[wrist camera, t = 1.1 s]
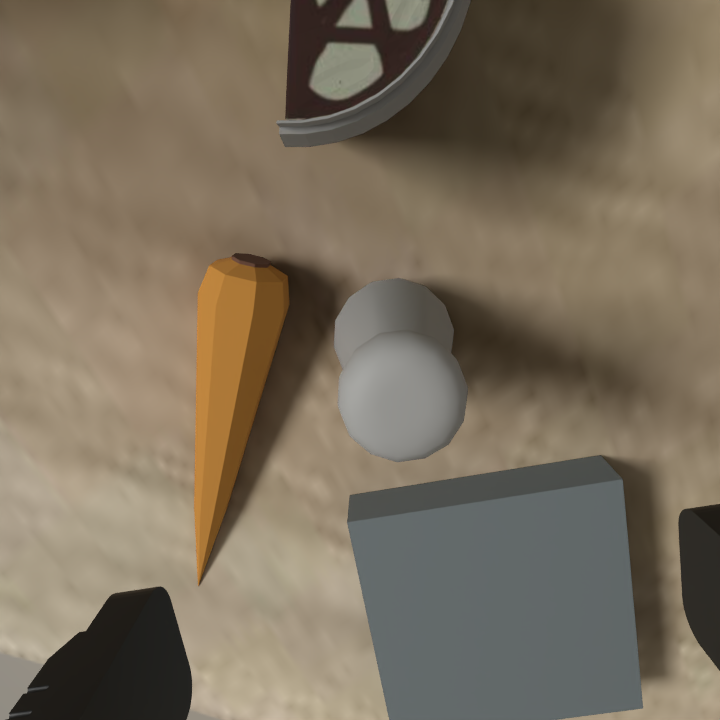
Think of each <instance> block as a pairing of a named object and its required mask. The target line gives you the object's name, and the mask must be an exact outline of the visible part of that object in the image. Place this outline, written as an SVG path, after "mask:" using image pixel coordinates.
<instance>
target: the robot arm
mask: <svg viewBox="0 0 720 720" xmlns="http://www.w3.org/2000/svg"><path fill="white" fill-rule="evenodd" d="M679 545H680V563H681V581H682V598H683V605H684V610H685V614H686V617H687V620H688V623H689V625H690V628H691V630H692V632H693V634H694V636H695V638H696V640H697V641H698V643H699V644H700V646H701V647H702V648H703V650H704V651H705V652H706V654H707V655H708V656H709V657H710V659H711V660H712V661H713V663H714V664H715V665H716V666H717V668H718V669H719V670H720V504H716V505H710V506H703V507H696V508H690V509H684V510H683V511H682V512H681V513H680V516H679ZM191 697H192V677H191V670H190V666H189V662H188V659H187V655H186V652H185V648H184V645H183V641H182V638H181V634H180V631H179V627H178V624H177V620H176V617H175V613H174V610H173V606H172V603H171V599H170V596H169V594H168V592H167V591H166V590H165V589H164V588H163V587H154V588H147V589H140V590H134V591H127V592H120V593H115V594H112V595H111V596H110V597H109V598H108V599H107V601H106V602H105V604H104V605H103V607H102V608H101V610H100V611H99V613H98V614H97V616H96V617H95V619H94V620H93V622H92V623H91V624H90V626H89V627H88V629H87V630H86V631H84V632H79V633H78V634H77V635H75V636H74V637H73V638H72V639H71V640H70V641H68V642H67V643H66V644H65V645H64V646H63V647H61V648H60V649H59V650H58V651H57V652H56V653H55V654H53V655H52V656H51V657H50V658H49V659H48V660H47V662H46V663H45V664H44V666H43V667H42V669H41V670H40V671H39V673H38V674H37V675H36V677H35V678H34V680H33V681H32V682H31V684H30V685H29V687H28V692H27V694H23V695H22V696H21V698H20V699H19V701H18V702H17V703H16V705H15V706H14V707H13V709H12V710H11V712H10V713H9V714H10V716H9V719H7V720H186V719H187V716H188V713H189V709H190V705H191Z"/></svg>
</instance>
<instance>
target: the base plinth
mask: <svg viewBox="0 0 720 720" xmlns="http://www.w3.org/2000/svg"><path fill="white" fill-rule="evenodd" d="M347 524H348V528H349V533H350V538H351V542H352V547H353V552H354V556H355V561H356V566H357V570H358V575H359V580H360V584H361V589H362V594H363V599H364V603H365V608H366V613H367V617H368V622H369V627H370V631H371V636H372V641H373V645H374V650H375V655H376V659H377V664H378V669H379V674H380V678H381V683H382V688H383V692H384V697H385V702H386V706H387V711H388V716H389V720H557V719H564V718H572V717H580V716H588V715H595V714H603V713H611V712H619V711H626V710H634V709H642V708H643V703H642V691H641V680H640V669H639V658H638V646H637V635H636V624H635V612H634V601H633V590H632V579H631V567H630V556H629V545H628V534H627V522H626V511H625V500H624V488H623V479H622V478H621V477H620V476H619V475H618V474H617V473H616V471H615V470H614V469H613V468H612V467H611V466H610V465H609V464H608V463H607V462H606V461H605V459H604V458H603V457H602V456H601V455H599V456H593V457H586V458H580V459H574V460H568V461H561V462H555V463H549V464H543V465H536V466H530V467H524V468H518V469H511V470H505V471H499V472H493V473H486V474H480V475H474V476H468V477H461V478H455V479H449V480H442V481H436V482H430V483H424V484H417V485H411V486H405V487H399V488H392V489H386V490H380V491H374V492H367V493H361V494H355V495H350V498H349V509H348V520H347Z"/></svg>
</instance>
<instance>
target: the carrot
mask: <svg viewBox="0 0 720 720" xmlns="http://www.w3.org/2000/svg"><path fill="white" fill-rule="evenodd" d="M270 264H271V261H269V260H267V259H265V258H263V257H259V256H255V255H251V254H239V253H235V254H234V255H232V257H230V258H225V259H219V260H217V261H215V262H214V263H212V264H211V265H209V268H208V270H207V272H206V275H205V277H204V280H203V282H202V284H201V287H200V289H199V292H198V319H197V379H196V438H195V498H194V511H195V532H196V553H197V574H198V586H199V583H200V580H201V577H202V575H203V572H204V569H205V567H206V564H207V561H208V558H209V556H210V553H211V550H212V547H213V545H214V542H215V539H216V537H217V534H218V531H219V528H220V526H221V523H222V520H223V518H224V515H225V512H226V509H227V507H228V503H229V500H230V497H231V494H232V490H233V487H234V484H235V481H236V477H237V474H238V471H239V467H240V464H241V461H242V458H243V454H244V451H245V448H246V445H247V441H248V438H249V435H250V432H251V428H252V425H253V422H254V418H255V415H256V412H257V409H258V405H259V402H260V399H261V396H262V392H263V389H264V386H265V383H266V379H267V376H268V373H269V369H270V366H271V363H272V360H273V356H274V353H275V350H276V347H277V343H278V340H279V337H280V333H281V330H282V327H283V324H284V320H285V317H286V314H287V311H288V307H289V304H290V302H289V287H288V276H287V275H285V274H284V273H282V272H281V271H279V270H278V269H276V268H274V267H273V266H271V265H270Z"/></svg>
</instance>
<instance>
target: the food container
mask: <svg viewBox="0 0 720 720" xmlns="http://www.w3.org/2000/svg"><path fill="white" fill-rule="evenodd" d="M470 2H471V0H291V7H290V28H289V48H288V69H287V91H286V116H285V119H287V121H277V124H278V126H279V127H280V130H279V134H280V137H281V139H282V141H283V144H284V146H285V147H312V146H318V145H324V144H330V143H336V142H339V141H342V140H345V139H348V138H351V137H354V136H357V135H360V134H363V133H365V132H366V131H368V130H370V129H372V128H374V127H376V126H378V125H380V124H381V123H383V122H385V121H387V120H388V119H390V118H391V117H392V116H394V115H395V114H396V113H398V112H399V111H400V110H401V109H403V108H404V107H405V106H407V105H408V104H409V103H410V102H411V101H412V100H413V99H414V98H415V97H416V96H417V95H418V94H419V93H420V92H421V91H422V90H423V89H424V88H425V87H426V86H427V85H428V84H429V83H430V81H431V80H432V78H433V77H434V76H435V74H436V73H437V71H438V70H439V68H440V67H441V66H442V64H443V63H444V61H445V60H446V59H447V57H448V55H449V53H450V51H451V49H452V47H453V45H454V43H455V41H456V39H457V37H458V35H459V33H460V31H461V28H462V26H463V23H464V20H465V17H466V14H467V11H468V8H469V5H470Z"/></svg>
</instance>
